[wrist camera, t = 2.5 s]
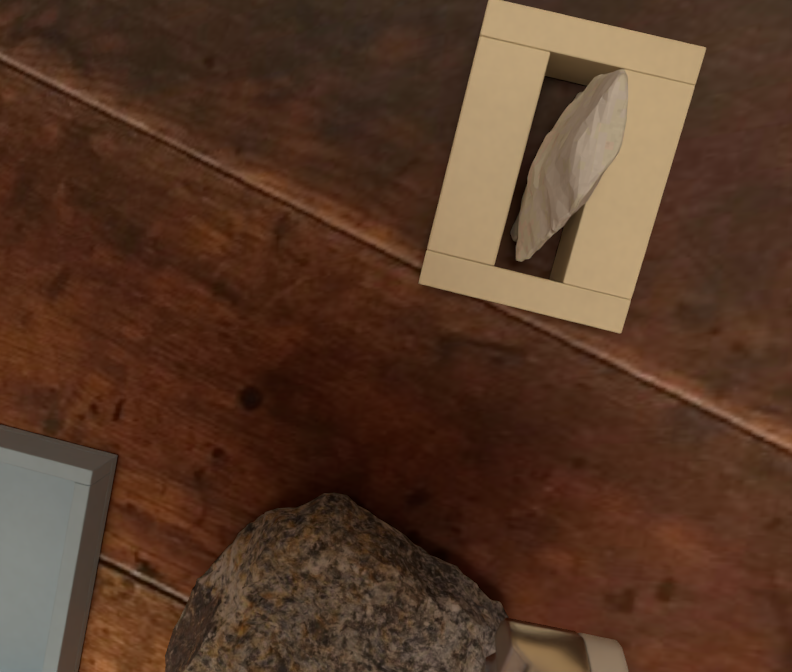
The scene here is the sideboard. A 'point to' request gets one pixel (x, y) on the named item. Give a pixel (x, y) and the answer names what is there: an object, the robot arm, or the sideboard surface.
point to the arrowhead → (572, 161)
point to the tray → (48, 547)
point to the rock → (332, 601)
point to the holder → (505, 145)
